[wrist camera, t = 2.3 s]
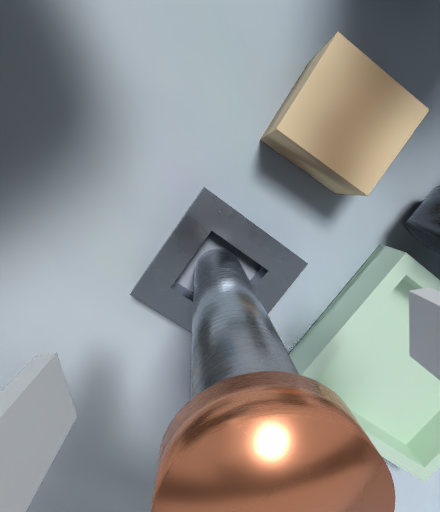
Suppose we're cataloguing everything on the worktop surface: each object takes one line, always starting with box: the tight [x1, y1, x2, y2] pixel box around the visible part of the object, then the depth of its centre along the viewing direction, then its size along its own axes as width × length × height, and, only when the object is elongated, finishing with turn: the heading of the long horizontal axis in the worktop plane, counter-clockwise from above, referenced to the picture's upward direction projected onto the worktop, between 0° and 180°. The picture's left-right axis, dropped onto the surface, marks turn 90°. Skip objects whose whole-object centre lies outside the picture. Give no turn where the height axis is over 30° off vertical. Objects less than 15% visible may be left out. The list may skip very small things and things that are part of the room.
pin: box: [151, 249, 395, 512], centre depth 13 cm, size 4×4×15 cm
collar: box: [130, 187, 308, 332], centre depth 19 cm, size 8×8×2 cm
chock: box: [260, 32, 429, 196], centre depth 17 cm, size 6×5×4 cm
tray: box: [289, 244, 440, 482], centre depth 21 cm, size 14×12×3 cm
